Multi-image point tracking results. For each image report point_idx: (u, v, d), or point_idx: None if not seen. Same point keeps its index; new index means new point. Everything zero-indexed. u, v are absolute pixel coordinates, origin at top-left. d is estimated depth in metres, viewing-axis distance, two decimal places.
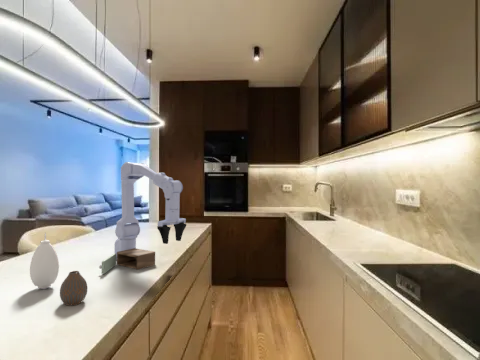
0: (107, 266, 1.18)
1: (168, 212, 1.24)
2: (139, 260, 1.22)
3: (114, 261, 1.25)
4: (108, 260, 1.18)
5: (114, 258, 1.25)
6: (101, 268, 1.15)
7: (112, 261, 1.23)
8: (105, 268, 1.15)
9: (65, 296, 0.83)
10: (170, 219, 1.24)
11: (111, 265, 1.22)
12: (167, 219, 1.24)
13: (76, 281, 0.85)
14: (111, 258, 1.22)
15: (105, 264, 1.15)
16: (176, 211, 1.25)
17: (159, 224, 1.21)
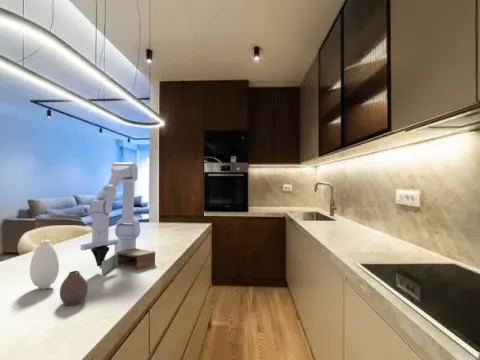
0: (107, 266, 1.18)
1: (94, 234, 1.15)
2: (139, 260, 1.22)
3: (114, 261, 1.25)
4: (108, 260, 1.19)
5: (114, 258, 1.25)
6: (101, 268, 1.15)
7: (112, 261, 1.23)
8: (105, 268, 1.15)
9: (65, 296, 0.83)
10: (96, 242, 1.14)
11: (111, 265, 1.22)
12: (93, 242, 1.15)
13: (76, 281, 0.85)
14: (111, 258, 1.22)
15: (105, 264, 1.15)
16: (103, 233, 1.15)
17: (82, 248, 1.11)
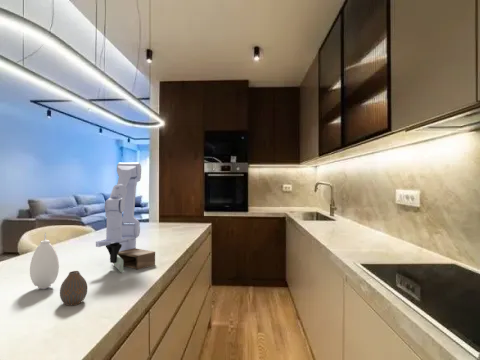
0: None
1: (108, 231, 1.20)
2: (139, 260, 1.22)
3: None
4: None
5: None
6: (119, 267, 1.16)
7: None
8: None
9: (65, 296, 0.83)
10: (110, 239, 1.19)
11: None
12: (107, 239, 1.20)
13: (76, 281, 0.85)
14: None
15: None
16: (117, 230, 1.20)
17: (97, 244, 1.16)
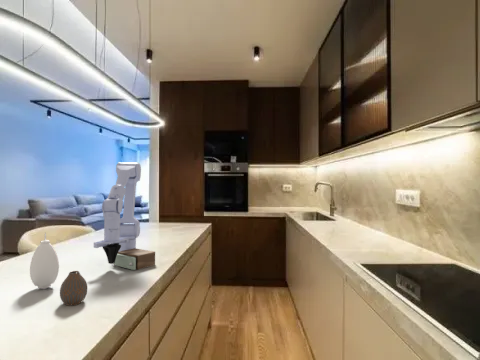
0: None
1: (106, 232, 1.19)
2: (139, 260, 1.22)
3: None
4: None
5: None
6: (132, 265, 1.19)
7: None
8: None
9: (65, 296, 0.83)
10: (108, 240, 1.19)
11: None
12: (105, 239, 1.19)
13: (76, 281, 0.85)
14: None
15: None
16: (115, 231, 1.20)
17: (95, 245, 1.15)
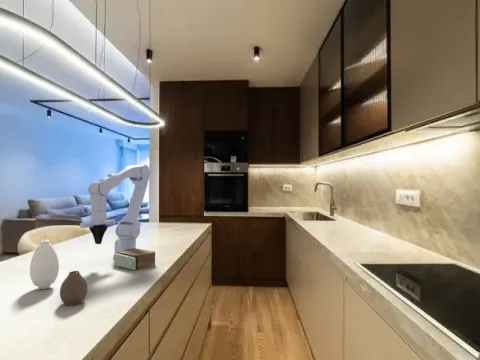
0: None
1: (93, 213, 1.23)
2: (139, 260, 1.22)
3: None
4: None
5: None
6: (132, 265, 1.19)
7: None
8: None
9: (65, 296, 0.83)
10: (95, 220, 1.22)
11: None
12: (92, 220, 1.23)
13: (76, 281, 0.85)
14: None
15: None
16: (101, 212, 1.23)
17: (81, 226, 1.19)
